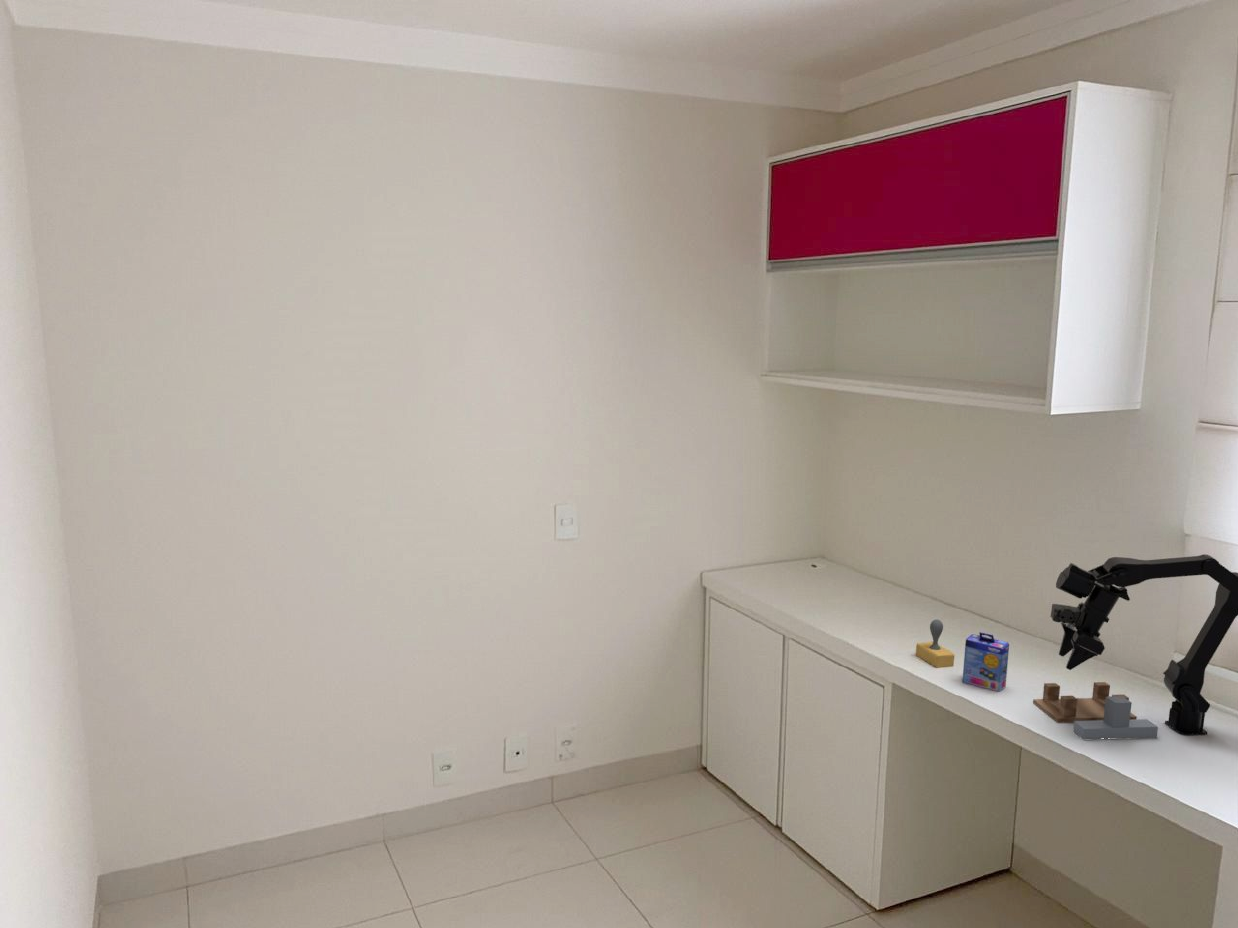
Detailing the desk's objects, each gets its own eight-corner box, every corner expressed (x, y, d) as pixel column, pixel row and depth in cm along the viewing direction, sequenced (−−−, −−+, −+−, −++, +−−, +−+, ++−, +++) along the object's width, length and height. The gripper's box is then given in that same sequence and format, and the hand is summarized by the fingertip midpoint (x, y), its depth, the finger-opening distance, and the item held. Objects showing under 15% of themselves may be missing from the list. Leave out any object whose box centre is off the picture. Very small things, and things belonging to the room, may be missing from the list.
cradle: (1108, 701, 234) (1111, 680, 233) (1136, 720, 223) (1138, 698, 222) (1032, 702, 232) (1034, 682, 231) (1057, 722, 221) (1059, 700, 220)
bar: (1145, 730, 218) (1149, 694, 216) (1156, 738, 214) (1161, 702, 213) (1072, 733, 216) (1076, 696, 215) (1082, 740, 212) (1086, 704, 211)
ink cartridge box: (960, 682, 244) (965, 630, 242) (968, 676, 248) (972, 624, 246) (999, 692, 238) (1004, 639, 235) (1006, 686, 242) (1011, 633, 240)
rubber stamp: (914, 655, 263) (917, 614, 261) (932, 653, 265) (935, 613, 263) (936, 668, 254) (939, 626, 252) (954, 666, 255) (957, 624, 253)
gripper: (1057, 580, 229) (1026, 634, 233) (1072, 602, 212) (1038, 659, 216) (1101, 601, 227) (1069, 654, 231) (1120, 625, 210) (1084, 682, 213)
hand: (1064, 662), depth 223 cm, fingers open, 9 cm apart
